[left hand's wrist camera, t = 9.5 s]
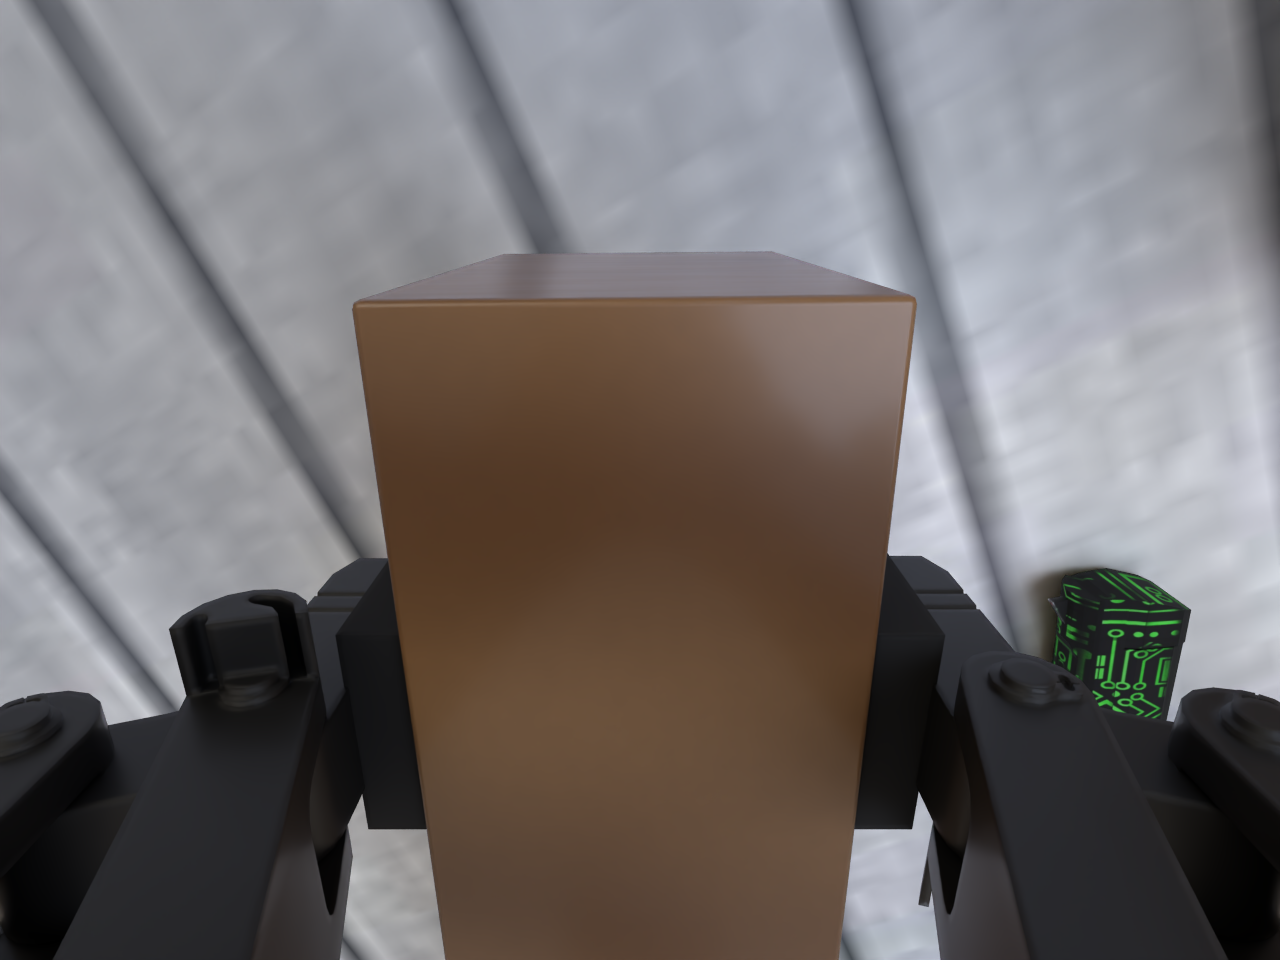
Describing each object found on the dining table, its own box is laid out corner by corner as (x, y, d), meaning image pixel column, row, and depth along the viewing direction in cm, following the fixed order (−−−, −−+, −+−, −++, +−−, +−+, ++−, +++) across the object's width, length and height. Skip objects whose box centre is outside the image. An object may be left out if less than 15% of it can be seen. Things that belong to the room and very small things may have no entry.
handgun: (1352, 952, 30) (994, 960, 29) (1289, 890, 33) (961, 896, 32) (1514, 603, 25) (1080, 605, 24) (1422, 564, 27) (1032, 565, 27)
